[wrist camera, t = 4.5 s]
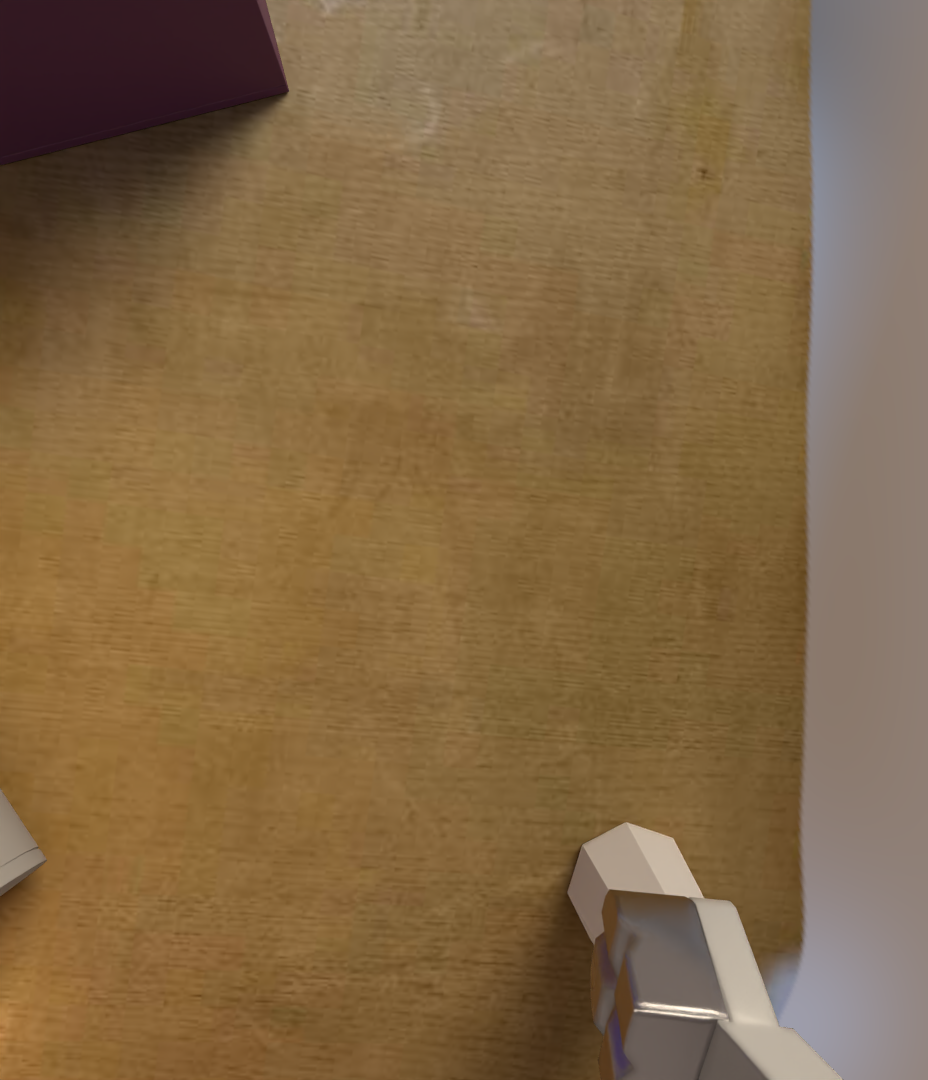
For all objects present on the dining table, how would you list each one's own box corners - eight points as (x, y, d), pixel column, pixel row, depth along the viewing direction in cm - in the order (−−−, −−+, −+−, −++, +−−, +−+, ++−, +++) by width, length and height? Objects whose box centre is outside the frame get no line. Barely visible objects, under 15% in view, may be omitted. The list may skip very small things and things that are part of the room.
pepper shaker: (572, 958, 32) (627, 1148, 21) (561, 825, 32) (609, 942, 21) (701, 948, 32) (824, 1133, 21) (688, 816, 32) (803, 928, 21)
